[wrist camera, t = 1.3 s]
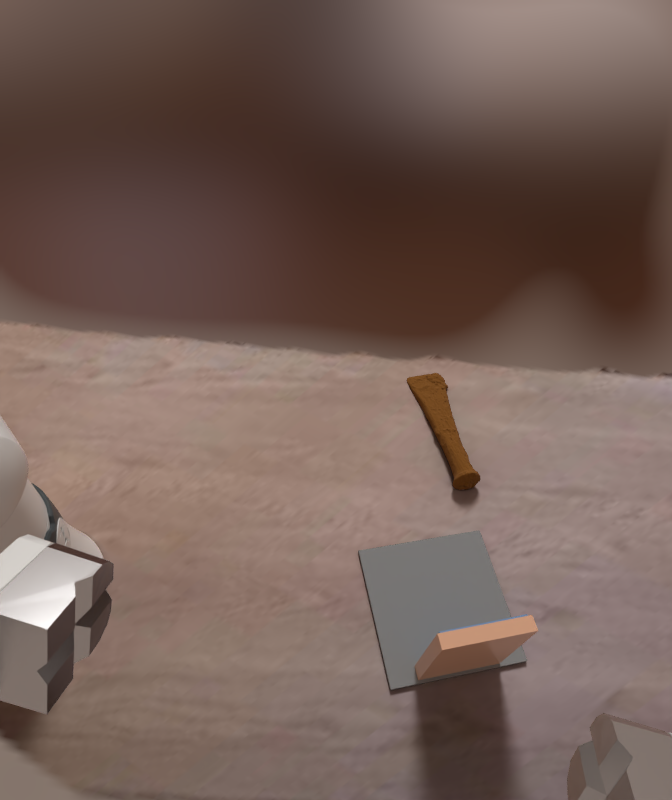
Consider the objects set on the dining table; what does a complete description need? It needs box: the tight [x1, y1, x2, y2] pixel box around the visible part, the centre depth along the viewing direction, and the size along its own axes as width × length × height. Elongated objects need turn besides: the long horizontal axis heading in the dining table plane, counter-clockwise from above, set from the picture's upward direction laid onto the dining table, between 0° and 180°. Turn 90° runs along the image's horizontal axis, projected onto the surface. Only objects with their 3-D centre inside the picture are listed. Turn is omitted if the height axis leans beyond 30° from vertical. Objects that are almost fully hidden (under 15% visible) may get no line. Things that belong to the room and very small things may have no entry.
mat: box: [358, 531, 527, 690], centre depth 65 cm, size 15×15×1 cm
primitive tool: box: [407, 373, 480, 490], centre depth 79 cm, size 19×6×4 cm, turn 14°
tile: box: [415, 614, 538, 680], centre depth 56 cm, size 9×2×12 cm, turn 101°
